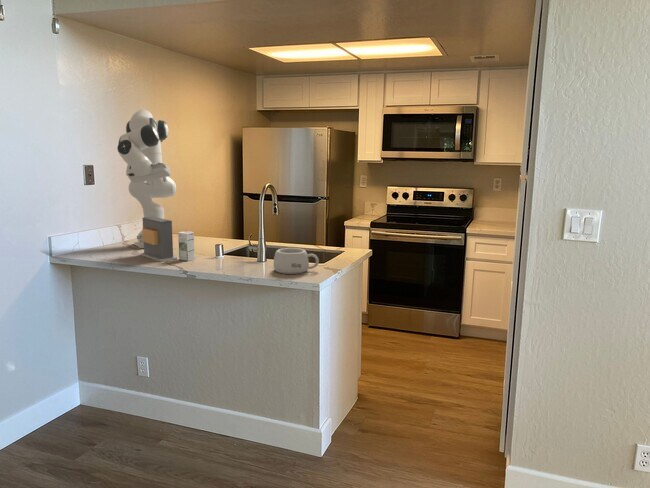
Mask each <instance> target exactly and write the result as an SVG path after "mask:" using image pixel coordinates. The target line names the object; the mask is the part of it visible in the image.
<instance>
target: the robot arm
mask: <svg viewBox="0 0 650 488" xmlns="http://www.w3.org/2000/svg"><path fill="white" fill-rule="evenodd" d="M169 132H170V131H169V126H168V123H167V122H166V121H165V120H161V119H154V116H153V114H152V112H150V111H149V110H147V109H139V110H138V111H136V112H135V113H134V114H132V116H131V118H130V120H128V122H127V123H126V125H125V133H124V134H121V135H120V137H119V139H118V145H117V149H116V150H117V152H118V154H119V156H120V157H121V158H122V160H123V161H124V162H125V163H126V164H127V166H126V170H125V176H126V177H127V178H128V179H129V180H130V182H129V184H128V192H129V194H130V195H131V197H133V198H134V199H136V200H137V201H138V202H139V204H140V205H141V208H142V212H143V218H145V217H157V218H161V219H165V209H164V207H163V206H162V205H161V204H158V203H156V202H154V201H153V199H154V198H155V199H160V198H161V199H164V198H169V197H174V196H175V194H176V192H177V184H176V182H175V181H174V180H173V179H172V178H171V177H170V176H171V174H172V173H171V171H172V170H171V168H170V167H169V166H168V165H166V164H165V162H163V157H162V156H163V155H162V154H163V153H162V145H161V143H162V142H163V141H164V140H166V139H167V138H168V135H169ZM136 239H137V241H135V242H133V245H135V246H136V247H138V248H139V249H144V242H143V231H142V230H141V231H140V232H139V233H138V234H137V235H136Z"/></svg>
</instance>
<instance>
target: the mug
mask: <svg viewBox="0 0 650 488" xmlns="http://www.w3.org/2000/svg"><path fill="white" fill-rule="evenodd" d="M310 257H313V258H314V259H315V263H314V264H312V265H310V263H309V261H310V260H309V258H310ZM319 262H320V259H319V257H318V256H317V254H314V253H308V252H307V251H306V249H302V248H299V247H286V248H285V247H282V248H279V249H277V250H276V251H275V253H274V257H273V269H274V271H275V272H276V273H279V274H283V275H297V274H304V273H306V272H307V271H308V270H311V269H314V268H316V267H318V266H319V264H320V263H319Z"/></svg>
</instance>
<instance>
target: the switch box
mask: <svg viewBox="0 0 650 488" xmlns="http://www.w3.org/2000/svg"><path fill="white" fill-rule="evenodd" d="M142 228H150V229H154V230H158V245H152V244H149V243H146V242H144V248H143V252H141V253H140V256H143V257H146V258H149V259H151V260H154V261H157V262H160V263H163V262H169V261H175V260H177V259H178V257H177V256H175V255H174V246H173V245H174V243H173V242H174V240H173V239H174V238H173V221H172V220H169V219H165V218H164V219H161V218H157V217H145V218H144V217H142Z"/></svg>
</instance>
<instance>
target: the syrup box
mask: <svg viewBox="0 0 650 488" xmlns="http://www.w3.org/2000/svg"><path fill="white" fill-rule="evenodd" d="M177 235H178V254H179V255H178V257H179V259H178V260H179V261H185V262H190V261H193V260H195V259H196V258H195V257H196V256H195V233H194V231H187V230H182V231H180V232H179V231H178V232H177Z"/></svg>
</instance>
